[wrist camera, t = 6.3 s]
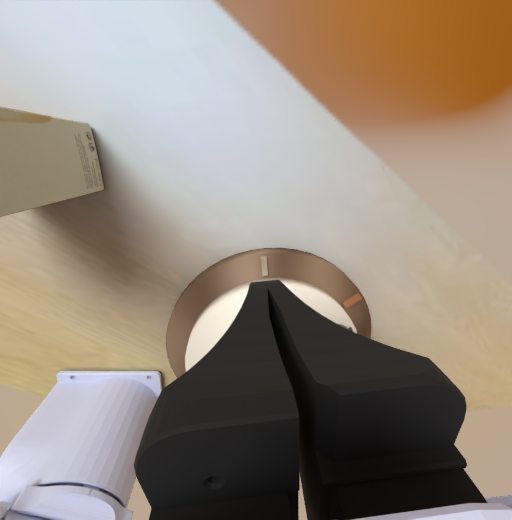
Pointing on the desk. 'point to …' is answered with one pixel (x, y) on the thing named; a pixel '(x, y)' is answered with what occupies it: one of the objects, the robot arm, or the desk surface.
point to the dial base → (256, 268)
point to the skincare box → (44, 160)
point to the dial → (230, 302)
